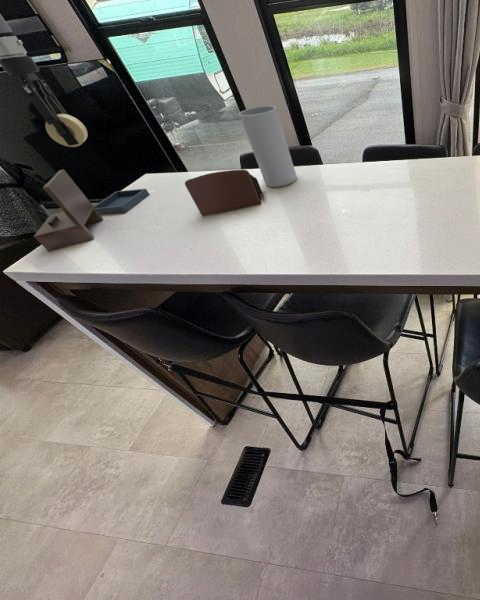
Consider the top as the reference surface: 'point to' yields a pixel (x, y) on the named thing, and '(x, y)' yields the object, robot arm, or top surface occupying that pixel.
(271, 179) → the cylinder vase
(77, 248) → the top surface
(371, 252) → the top surface
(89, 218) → the stand
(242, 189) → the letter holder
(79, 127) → the tape roll
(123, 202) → the tray
